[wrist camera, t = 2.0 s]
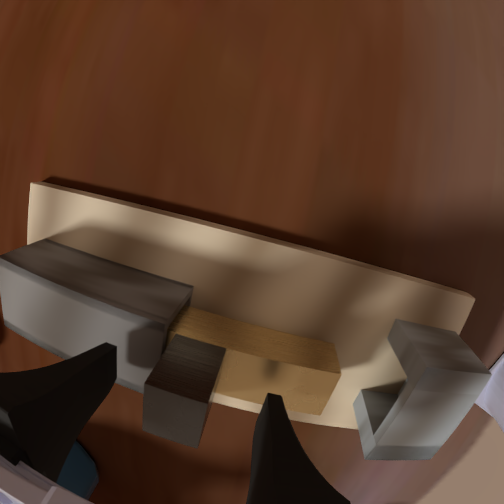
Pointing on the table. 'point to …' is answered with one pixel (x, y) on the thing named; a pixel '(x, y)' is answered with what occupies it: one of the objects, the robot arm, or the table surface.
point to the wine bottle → (79, 472)
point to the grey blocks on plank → (244, 310)
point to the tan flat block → (232, 372)
